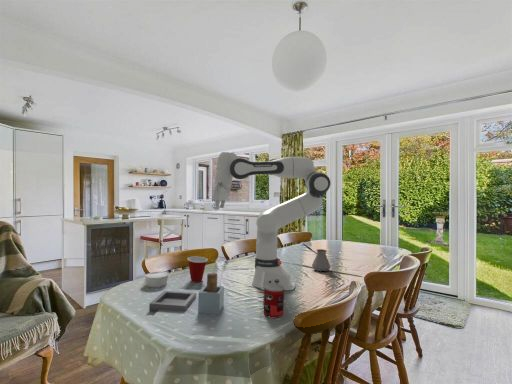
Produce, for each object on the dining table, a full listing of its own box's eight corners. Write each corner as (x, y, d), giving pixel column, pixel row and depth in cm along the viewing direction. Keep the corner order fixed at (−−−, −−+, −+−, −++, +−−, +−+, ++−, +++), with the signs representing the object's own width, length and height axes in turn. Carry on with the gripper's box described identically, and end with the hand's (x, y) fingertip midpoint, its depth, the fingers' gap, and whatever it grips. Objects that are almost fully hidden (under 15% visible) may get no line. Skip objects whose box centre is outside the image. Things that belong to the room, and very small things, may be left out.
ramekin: (160, 279, 151) (160, 270, 151) (172, 284, 144) (172, 274, 144) (140, 284, 143) (140, 274, 143) (152, 290, 136) (152, 279, 135)
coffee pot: (333, 270, 179) (334, 247, 179) (323, 274, 171) (324, 249, 171) (306, 263, 195) (307, 242, 195) (296, 266, 187) (296, 244, 187)
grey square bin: (223, 308, 117) (224, 286, 117) (219, 316, 109) (219, 293, 109) (203, 306, 118) (204, 285, 118) (197, 315, 110) (198, 292, 110)
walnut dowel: (217, 307, 115) (218, 273, 115) (214, 311, 111) (216, 276, 111) (207, 306, 116) (208, 272, 116) (205, 310, 112) (206, 275, 112)
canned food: (262, 309, 117) (263, 283, 117) (281, 309, 117) (282, 283, 117) (264, 318, 109) (265, 289, 109) (284, 318, 110) (285, 289, 110)
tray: (196, 299, 126) (196, 292, 126) (184, 313, 111) (185, 305, 111) (164, 297, 127) (164, 290, 127) (149, 311, 112) (149, 303, 112)
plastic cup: (202, 284, 145) (203, 261, 145) (183, 282, 148) (183, 259, 148) (210, 278, 156) (210, 256, 156) (191, 276, 158) (192, 255, 158)
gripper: (224, 183, 136) (220, 211, 136) (233, 183, 156) (229, 208, 157) (211, 181, 137) (207, 209, 137) (222, 181, 157) (218, 206, 157)
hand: (219, 208), depth 147 cm, fingers open, 8 cm apart
